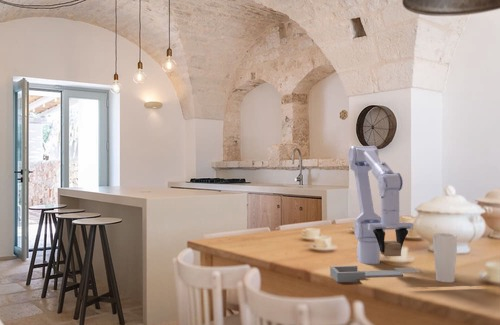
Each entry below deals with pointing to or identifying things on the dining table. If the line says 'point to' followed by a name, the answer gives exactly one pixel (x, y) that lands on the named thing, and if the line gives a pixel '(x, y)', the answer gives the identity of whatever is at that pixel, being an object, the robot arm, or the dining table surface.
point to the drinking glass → (445, 256)
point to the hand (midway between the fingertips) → (390, 251)
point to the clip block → (391, 248)
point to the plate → (407, 270)
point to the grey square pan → (358, 273)
